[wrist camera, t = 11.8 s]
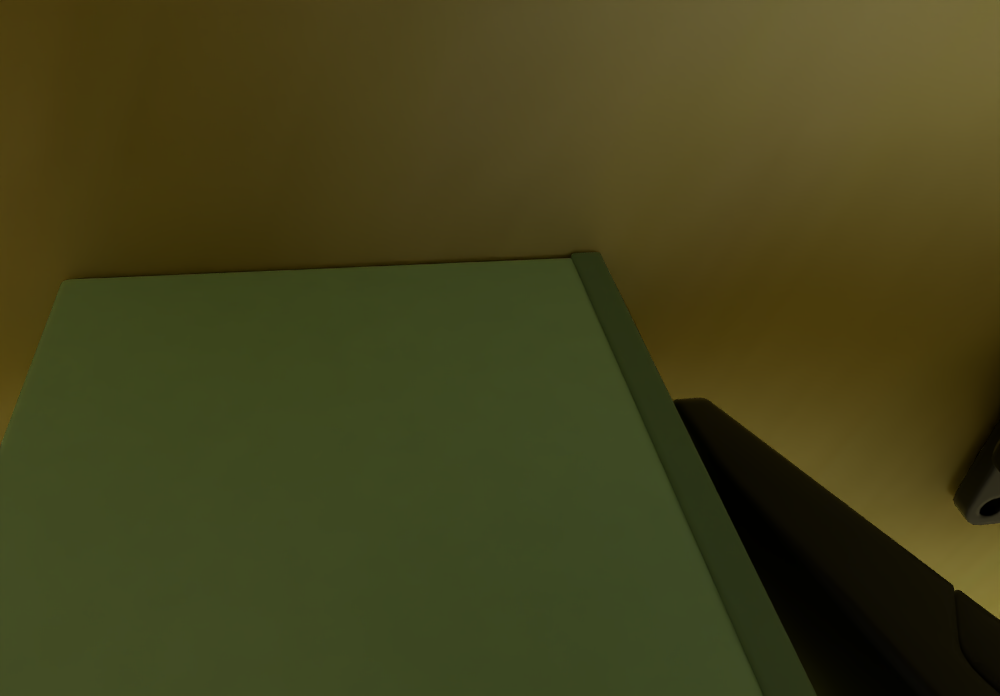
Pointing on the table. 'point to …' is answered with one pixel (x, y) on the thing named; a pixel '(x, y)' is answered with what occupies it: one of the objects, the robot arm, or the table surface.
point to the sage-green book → (367, 495)
